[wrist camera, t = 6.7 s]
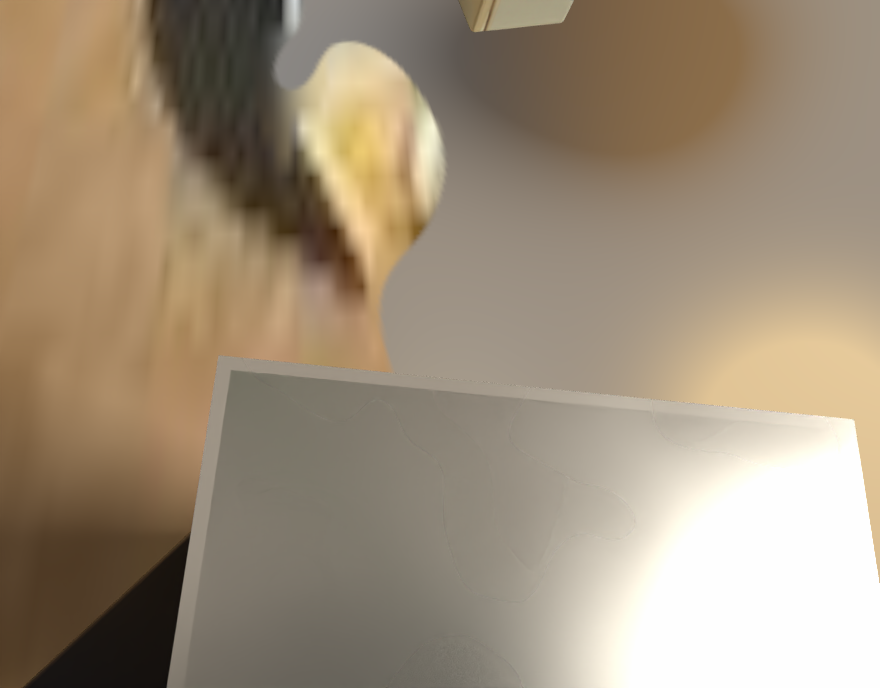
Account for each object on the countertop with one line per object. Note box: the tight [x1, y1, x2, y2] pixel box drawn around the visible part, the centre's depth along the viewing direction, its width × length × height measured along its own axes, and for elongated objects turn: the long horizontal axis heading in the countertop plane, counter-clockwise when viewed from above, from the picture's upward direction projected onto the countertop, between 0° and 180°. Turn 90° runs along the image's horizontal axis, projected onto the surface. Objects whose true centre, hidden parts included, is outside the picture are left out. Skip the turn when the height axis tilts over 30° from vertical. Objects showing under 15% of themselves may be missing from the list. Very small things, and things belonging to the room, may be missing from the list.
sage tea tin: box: [167, 356, 880, 688], centre depth 11 cm, size 5×5×14 cm
